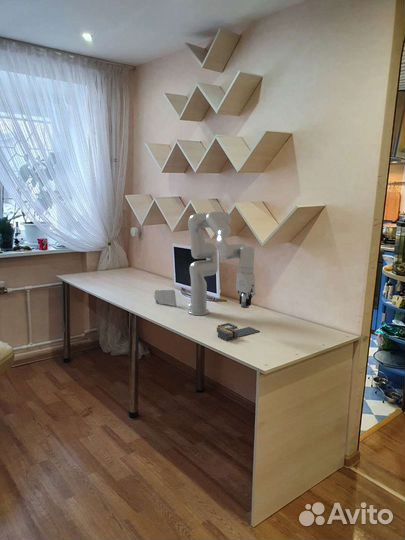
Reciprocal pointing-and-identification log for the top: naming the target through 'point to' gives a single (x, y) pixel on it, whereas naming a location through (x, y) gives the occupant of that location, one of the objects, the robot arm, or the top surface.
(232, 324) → the socket collar
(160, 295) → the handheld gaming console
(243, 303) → the peg
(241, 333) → the mat
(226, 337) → the socket block
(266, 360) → the top surface
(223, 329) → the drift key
